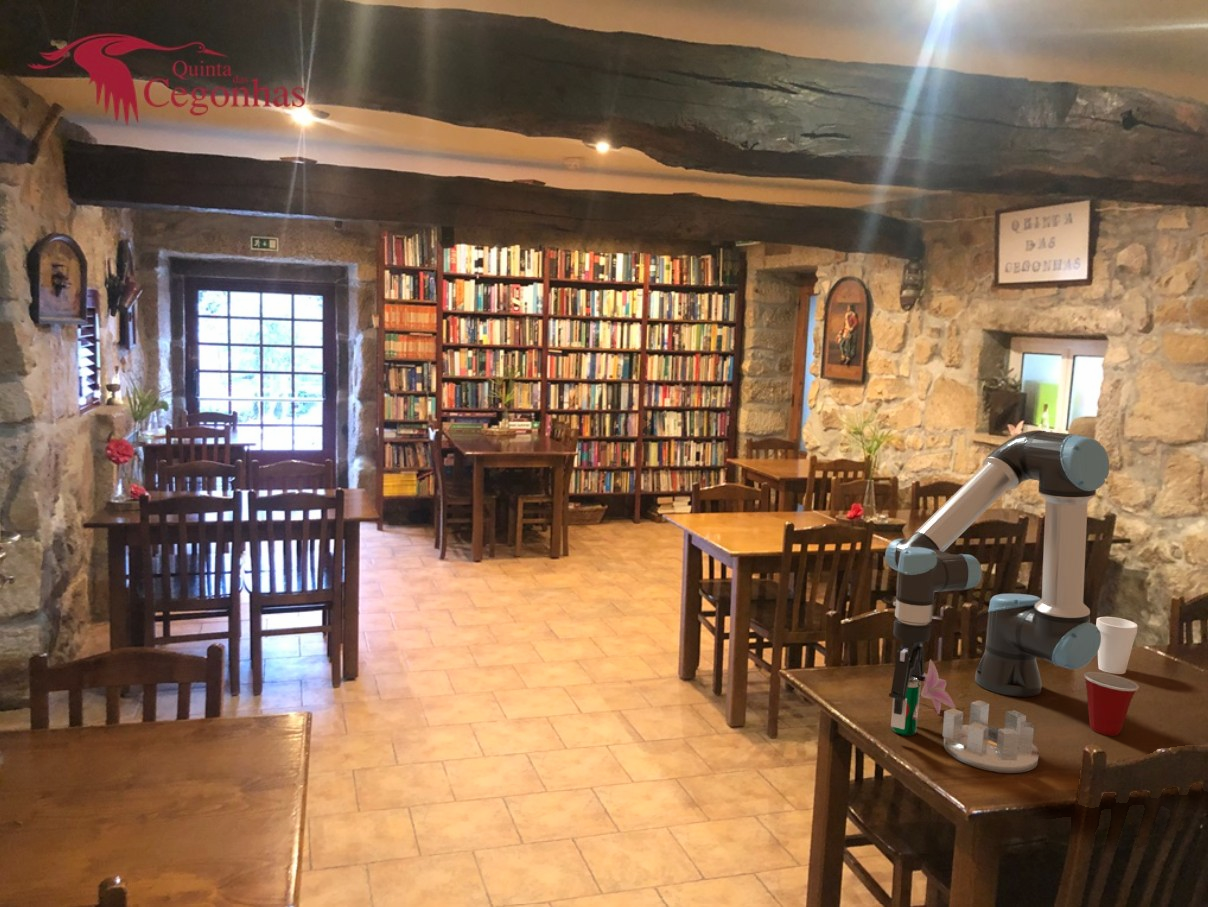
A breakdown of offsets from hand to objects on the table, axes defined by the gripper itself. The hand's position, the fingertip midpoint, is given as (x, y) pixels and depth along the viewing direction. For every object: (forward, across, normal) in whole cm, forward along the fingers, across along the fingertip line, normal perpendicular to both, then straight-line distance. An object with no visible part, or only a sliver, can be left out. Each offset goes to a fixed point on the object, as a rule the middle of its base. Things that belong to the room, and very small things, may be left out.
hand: (904, 718), depth 198 cm
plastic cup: (+3, -28, +37) cm, 47 cm away
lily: (+3, -18, +2) cm, 19 cm away
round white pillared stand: (+3, 0, +18) cm, 18 cm away
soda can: (+3, 0, 0) cm, 3 cm away
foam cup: (+3, -74, +35) cm, 82 cm away
